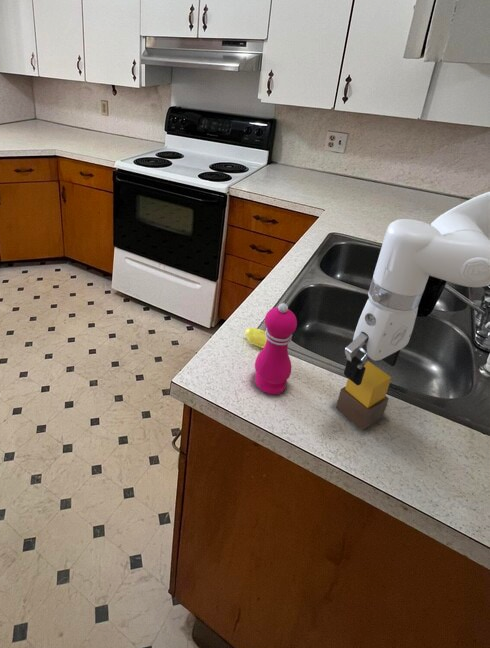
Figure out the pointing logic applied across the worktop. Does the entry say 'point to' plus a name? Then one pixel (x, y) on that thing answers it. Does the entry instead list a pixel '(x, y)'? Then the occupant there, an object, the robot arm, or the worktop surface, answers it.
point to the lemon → (256, 336)
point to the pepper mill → (275, 350)
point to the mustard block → (370, 386)
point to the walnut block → (360, 409)
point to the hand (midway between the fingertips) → (369, 370)
